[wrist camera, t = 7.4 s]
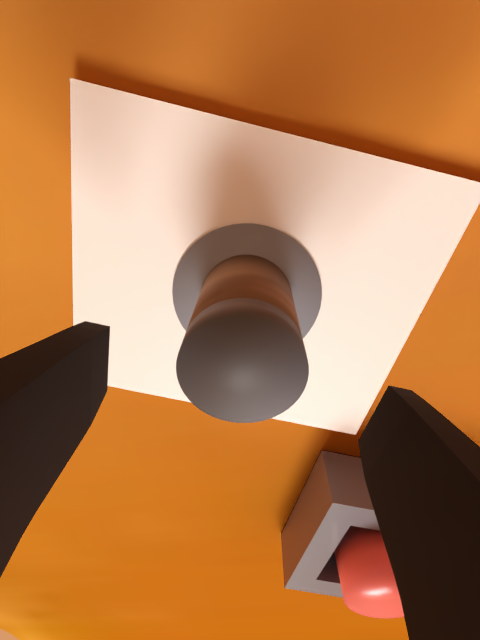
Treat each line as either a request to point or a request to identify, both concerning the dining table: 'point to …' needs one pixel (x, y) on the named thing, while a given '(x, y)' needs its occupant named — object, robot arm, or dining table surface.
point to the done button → (367, 574)
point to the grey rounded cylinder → (243, 343)
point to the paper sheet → (251, 241)
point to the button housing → (325, 523)
